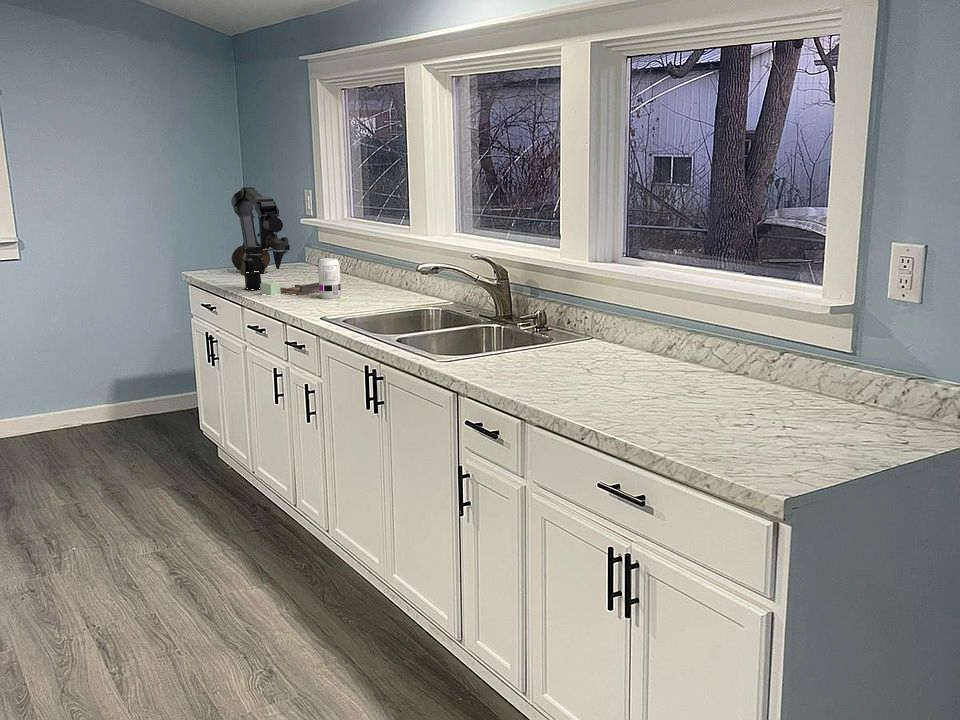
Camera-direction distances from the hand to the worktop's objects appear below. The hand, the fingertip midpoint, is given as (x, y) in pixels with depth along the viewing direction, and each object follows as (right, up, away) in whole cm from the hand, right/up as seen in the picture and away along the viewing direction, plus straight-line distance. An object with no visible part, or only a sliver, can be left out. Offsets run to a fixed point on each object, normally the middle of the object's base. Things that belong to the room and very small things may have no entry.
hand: (269, 270), depth 377 cm
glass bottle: (-25, +6, +74) cm, 79 cm away
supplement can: (+25, -12, -7) cm, 29 cm away
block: (0, -10, +2) cm, 10 cm away
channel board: (+11, -8, +8) cm, 16 cm away
